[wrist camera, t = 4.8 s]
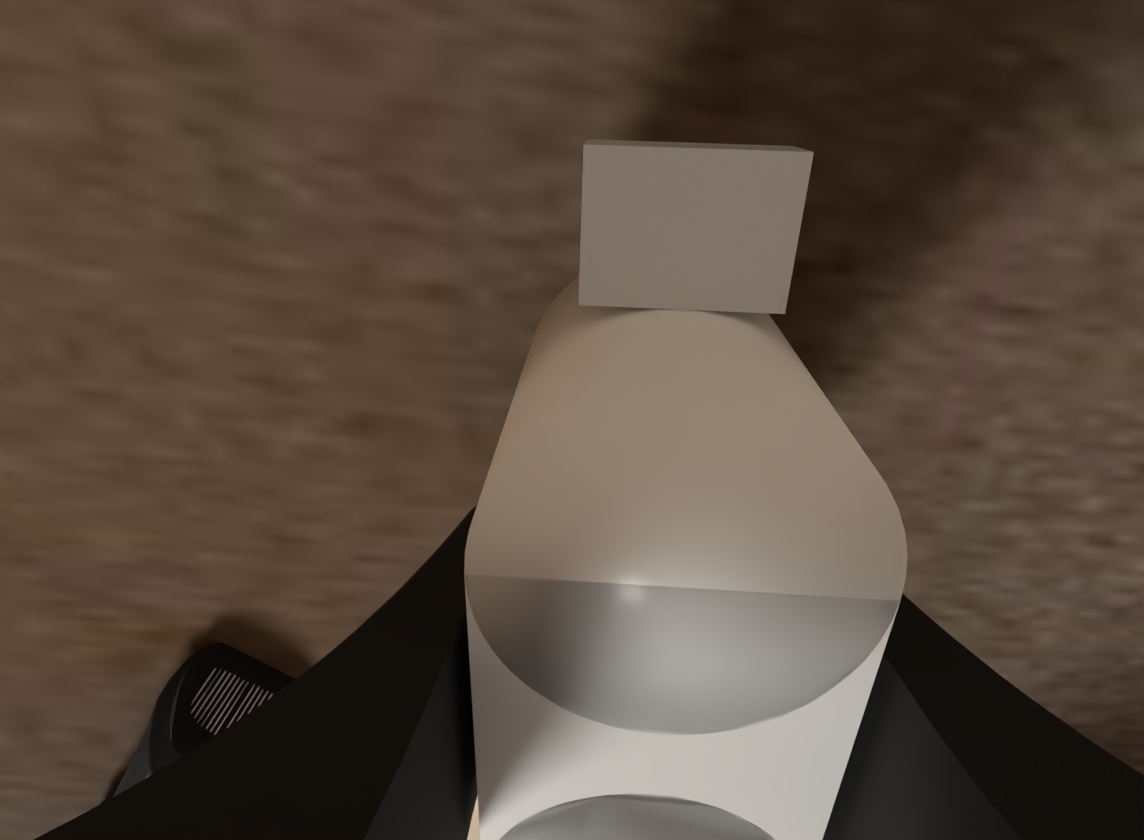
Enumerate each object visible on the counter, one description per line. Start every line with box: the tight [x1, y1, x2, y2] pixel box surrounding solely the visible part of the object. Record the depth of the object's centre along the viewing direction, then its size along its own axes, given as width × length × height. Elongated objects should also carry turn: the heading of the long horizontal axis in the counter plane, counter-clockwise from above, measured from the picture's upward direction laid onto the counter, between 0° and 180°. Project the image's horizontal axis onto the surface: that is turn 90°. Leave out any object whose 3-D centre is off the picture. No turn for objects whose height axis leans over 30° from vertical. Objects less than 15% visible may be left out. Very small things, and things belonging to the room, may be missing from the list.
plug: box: [464, 139, 907, 840], centre depth 9 cm, size 11×4×5 cm, turn 178°
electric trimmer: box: [101, 643, 296, 804], centre depth 20 cm, size 4×16×3 cm, turn 144°
